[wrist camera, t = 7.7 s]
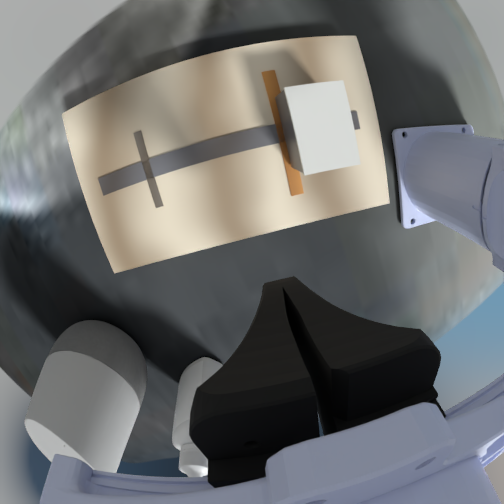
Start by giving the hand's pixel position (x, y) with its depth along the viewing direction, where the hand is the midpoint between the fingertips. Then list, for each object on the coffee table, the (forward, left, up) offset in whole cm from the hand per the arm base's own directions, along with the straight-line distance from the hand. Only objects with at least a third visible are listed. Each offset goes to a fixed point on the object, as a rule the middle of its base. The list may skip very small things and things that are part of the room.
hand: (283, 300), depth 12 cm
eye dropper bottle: (+9, +13, -10) cm, 18 cm away
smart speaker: (+17, +8, -10) cm, 21 cm away
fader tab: (-4, -6, -7) cm, 10 cm away
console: (+1, -6, -9) cm, 11 cm away
